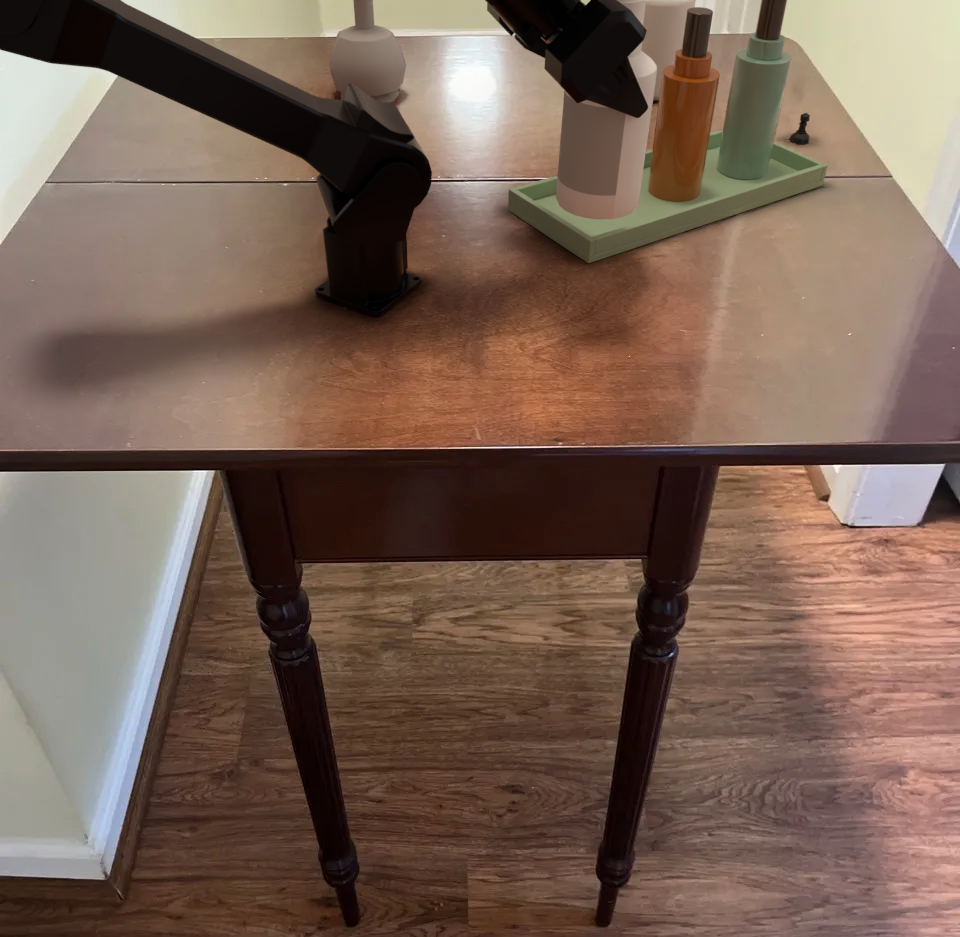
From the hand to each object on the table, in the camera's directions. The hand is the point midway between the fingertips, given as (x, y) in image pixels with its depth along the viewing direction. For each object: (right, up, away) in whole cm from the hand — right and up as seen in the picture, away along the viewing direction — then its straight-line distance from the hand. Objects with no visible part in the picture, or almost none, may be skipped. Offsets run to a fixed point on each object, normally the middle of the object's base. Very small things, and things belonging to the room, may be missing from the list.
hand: (624, 96), depth 74 cm
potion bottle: (-24, +15, +39) cm, 48 cm away
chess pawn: (+23, +6, +29) cm, 38 cm away
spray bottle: (-2, -7, +5) cm, 9 cm away
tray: (+7, -3, +18) cm, 20 cm away
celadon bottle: (+15, +1, +22) cm, 27 cm away
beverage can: (+9, +16, +40) cm, 44 cm away
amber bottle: (+7, -2, +18) cm, 20 cm away
